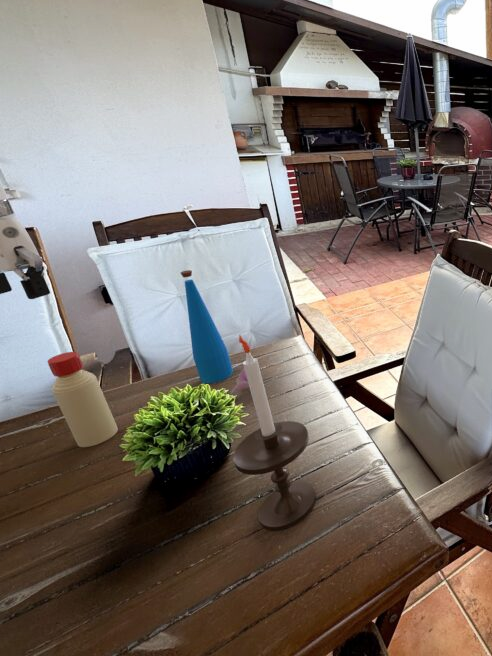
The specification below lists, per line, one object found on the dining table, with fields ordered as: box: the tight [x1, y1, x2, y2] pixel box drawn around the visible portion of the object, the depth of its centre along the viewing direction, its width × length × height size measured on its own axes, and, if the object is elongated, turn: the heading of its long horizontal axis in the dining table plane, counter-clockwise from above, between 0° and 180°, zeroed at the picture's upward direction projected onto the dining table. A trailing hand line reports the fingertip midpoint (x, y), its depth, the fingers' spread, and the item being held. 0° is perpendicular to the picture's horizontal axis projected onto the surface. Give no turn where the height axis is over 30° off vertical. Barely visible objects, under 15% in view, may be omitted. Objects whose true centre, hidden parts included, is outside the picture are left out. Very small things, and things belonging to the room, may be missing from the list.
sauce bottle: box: [51, 369, 119, 448], centre depth 85 cm, size 6×6×20 cm
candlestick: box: [232, 334, 317, 532], centre depth 66 cm, size 11×11×35 cm
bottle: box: [180, 269, 234, 384], centre depth 104 cm, size 7×7×30 cm
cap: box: [47, 351, 84, 378], centre depth 81 cm, size 4×4×3 cm
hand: (20, 294), depth 81 cm, fingers open, 9 cm apart
